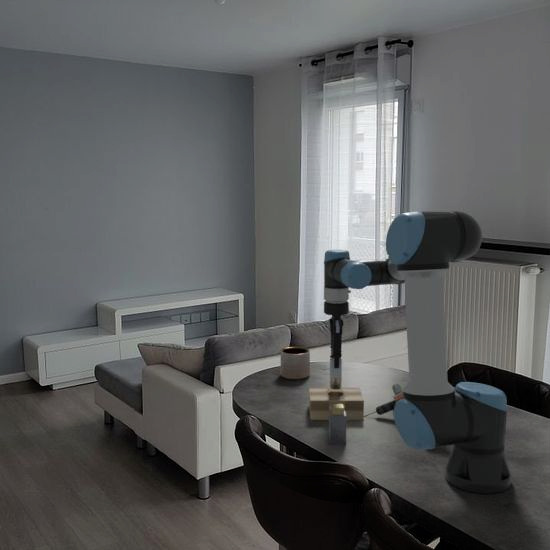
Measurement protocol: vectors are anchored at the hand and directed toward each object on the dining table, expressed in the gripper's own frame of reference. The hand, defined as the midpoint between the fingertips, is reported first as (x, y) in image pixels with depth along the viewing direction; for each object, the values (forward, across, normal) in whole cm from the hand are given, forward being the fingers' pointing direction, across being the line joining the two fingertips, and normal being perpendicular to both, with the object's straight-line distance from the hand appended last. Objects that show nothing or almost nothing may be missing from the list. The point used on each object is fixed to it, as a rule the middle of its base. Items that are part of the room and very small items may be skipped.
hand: (335, 375), depth 199 cm
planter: (+12, +38, +12) cm, 41 cm away
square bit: (+12, -22, +1) cm, 25 cm away
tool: (+9, -6, -20) cm, 23 cm away
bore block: (+12, 0, 0) cm, 12 cm away
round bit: (+4, 0, 0) cm, 4 cm away
